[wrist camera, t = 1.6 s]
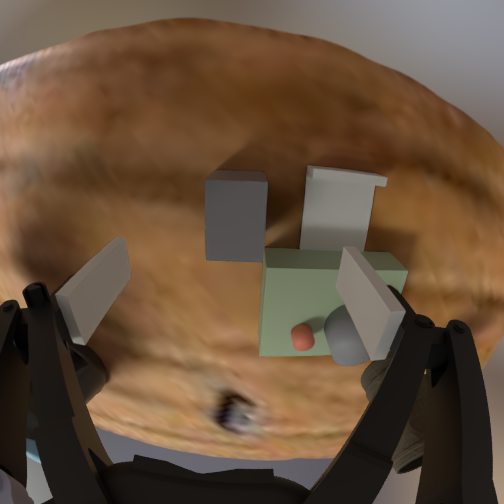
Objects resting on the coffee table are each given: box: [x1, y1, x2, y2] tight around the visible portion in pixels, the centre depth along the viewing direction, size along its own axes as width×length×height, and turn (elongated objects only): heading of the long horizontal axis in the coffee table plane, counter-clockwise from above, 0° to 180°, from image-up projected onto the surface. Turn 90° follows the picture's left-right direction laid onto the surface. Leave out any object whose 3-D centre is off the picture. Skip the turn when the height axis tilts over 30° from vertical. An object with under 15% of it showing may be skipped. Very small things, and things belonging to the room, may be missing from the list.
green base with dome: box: [258, 165, 408, 366], centre depth 27 cm, size 16×22×9 cm
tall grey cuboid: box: [205, 170, 268, 262], centre depth 26 cm, size 5×7×7 cm
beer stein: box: [361, 352, 427, 474], centre depth 32 cm, size 15×11×20 cm
